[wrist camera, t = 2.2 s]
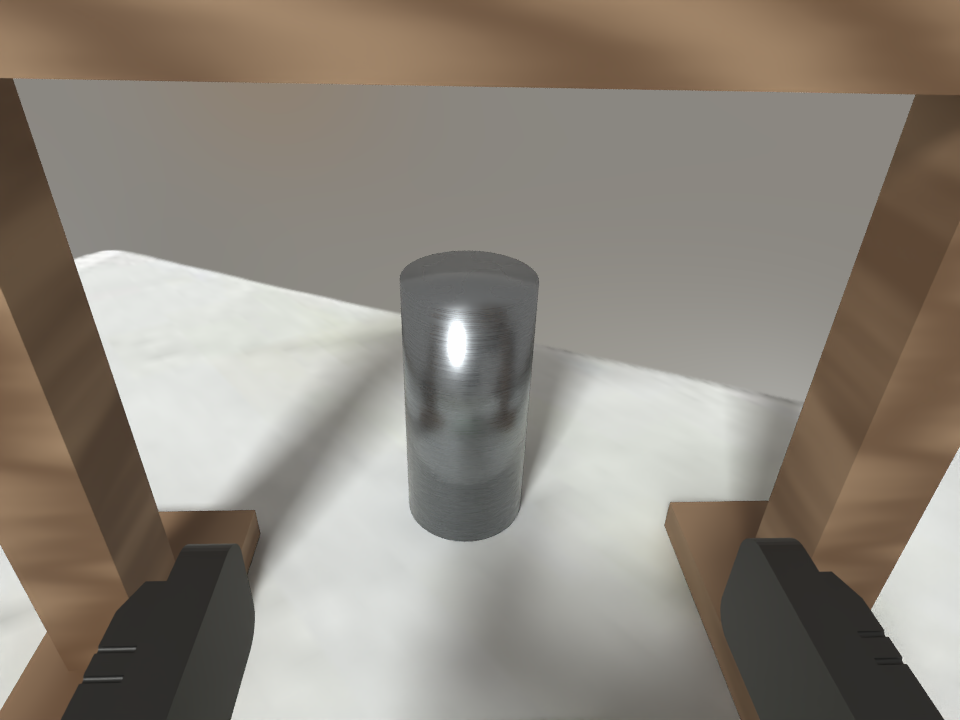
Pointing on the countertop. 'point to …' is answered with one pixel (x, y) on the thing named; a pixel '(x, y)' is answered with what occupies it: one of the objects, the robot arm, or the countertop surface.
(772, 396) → the countertop surface
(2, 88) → the walnut gate
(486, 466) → the tin can
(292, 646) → the countertop surface
